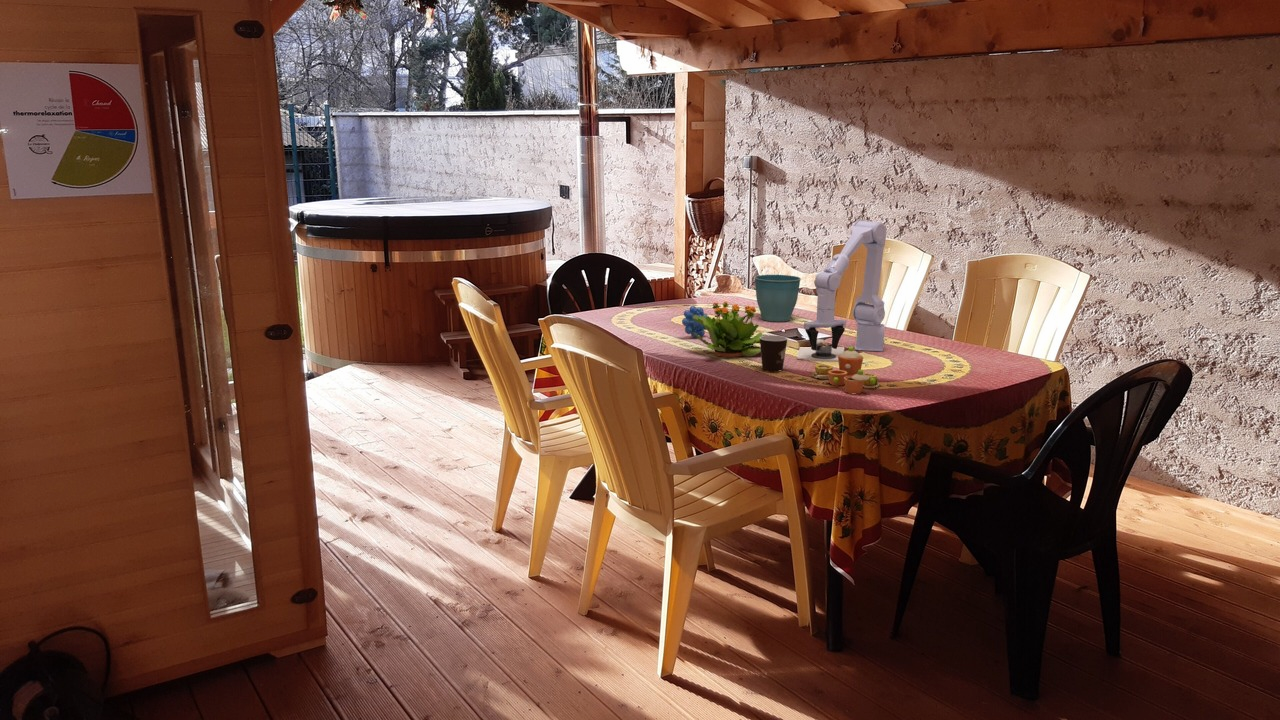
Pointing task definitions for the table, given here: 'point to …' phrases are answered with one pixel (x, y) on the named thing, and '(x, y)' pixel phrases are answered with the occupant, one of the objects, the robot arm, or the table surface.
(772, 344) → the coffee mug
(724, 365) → the table surface
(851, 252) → the robot arm
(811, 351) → the board
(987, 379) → the table surface
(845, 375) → the toy tea set
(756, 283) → the flower pot
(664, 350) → the table surface
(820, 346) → the knob
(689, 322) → the grapes
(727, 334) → the potted flower
